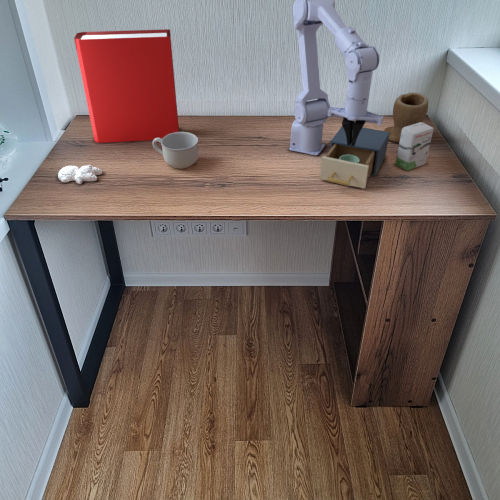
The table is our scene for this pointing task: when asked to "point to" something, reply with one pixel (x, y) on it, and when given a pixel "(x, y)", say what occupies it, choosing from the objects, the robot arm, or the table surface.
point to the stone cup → (407, 113)
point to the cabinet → (366, 143)
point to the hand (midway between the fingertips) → (351, 144)
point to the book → (128, 84)
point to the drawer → (347, 166)
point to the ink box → (414, 146)
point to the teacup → (178, 149)
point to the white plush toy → (79, 174)
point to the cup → (350, 158)
